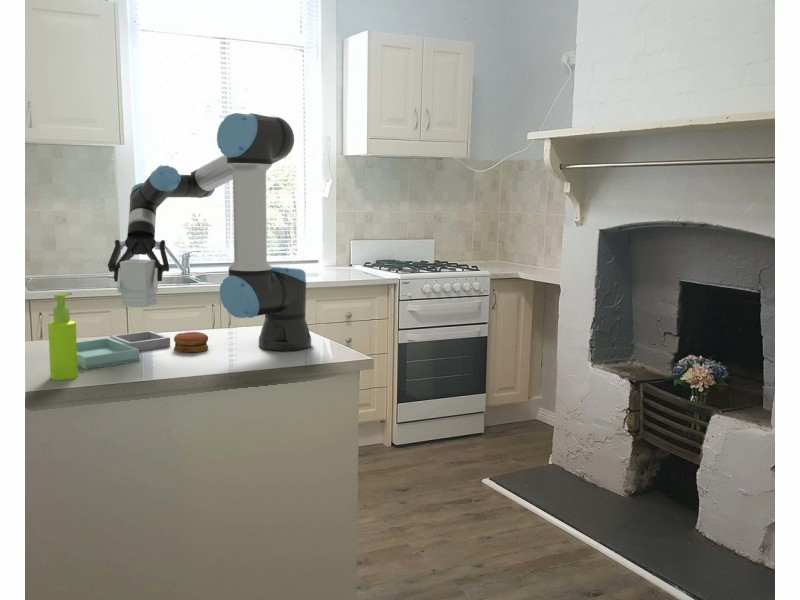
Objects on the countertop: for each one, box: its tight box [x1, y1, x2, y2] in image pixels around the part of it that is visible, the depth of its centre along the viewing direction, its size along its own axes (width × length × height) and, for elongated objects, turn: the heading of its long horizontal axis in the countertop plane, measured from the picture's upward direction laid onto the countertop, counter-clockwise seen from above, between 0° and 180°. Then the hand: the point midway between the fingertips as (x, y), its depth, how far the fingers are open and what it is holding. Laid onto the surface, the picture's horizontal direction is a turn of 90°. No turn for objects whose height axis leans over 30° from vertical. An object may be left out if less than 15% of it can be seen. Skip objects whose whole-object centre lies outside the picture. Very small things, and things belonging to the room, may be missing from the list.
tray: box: [77, 337, 141, 370], centre depth 189 cm, size 18×14×3 cm
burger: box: [173, 331, 209, 353], centre depth 202 cm, size 10×9×5 cm
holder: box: [109, 330, 171, 351], centre depth 204 cm, size 12×12×2 cm
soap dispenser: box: [47, 291, 79, 381], centre depth 170 cm, size 6×7×20 cm
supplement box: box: [120, 258, 158, 308], centre depth 202 cm, size 7×7×13 cm
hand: (137, 289), depth 199 cm, fingers closed on supplement box, 9 cm apart
